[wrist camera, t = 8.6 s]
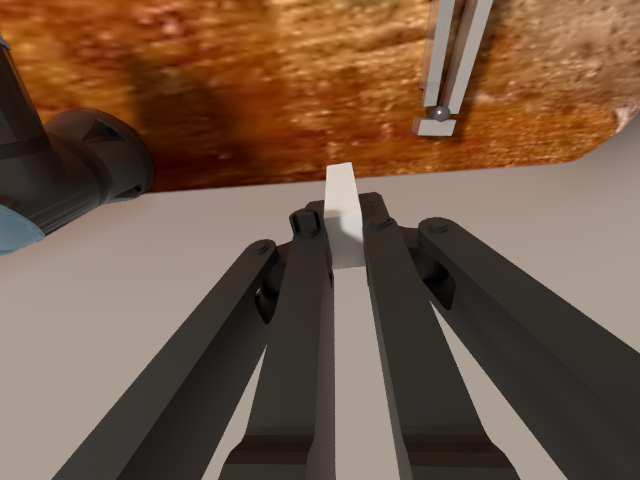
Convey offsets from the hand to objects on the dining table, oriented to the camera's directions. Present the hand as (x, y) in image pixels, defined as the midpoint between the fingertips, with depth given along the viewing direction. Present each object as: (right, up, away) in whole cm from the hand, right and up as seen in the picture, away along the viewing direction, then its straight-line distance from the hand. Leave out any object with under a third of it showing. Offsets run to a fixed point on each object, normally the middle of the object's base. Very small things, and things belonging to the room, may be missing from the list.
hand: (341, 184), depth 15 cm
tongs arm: (+13, +23, +15) cm, 31 cm away
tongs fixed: (+15, +22, +16) cm, 31 cm away
